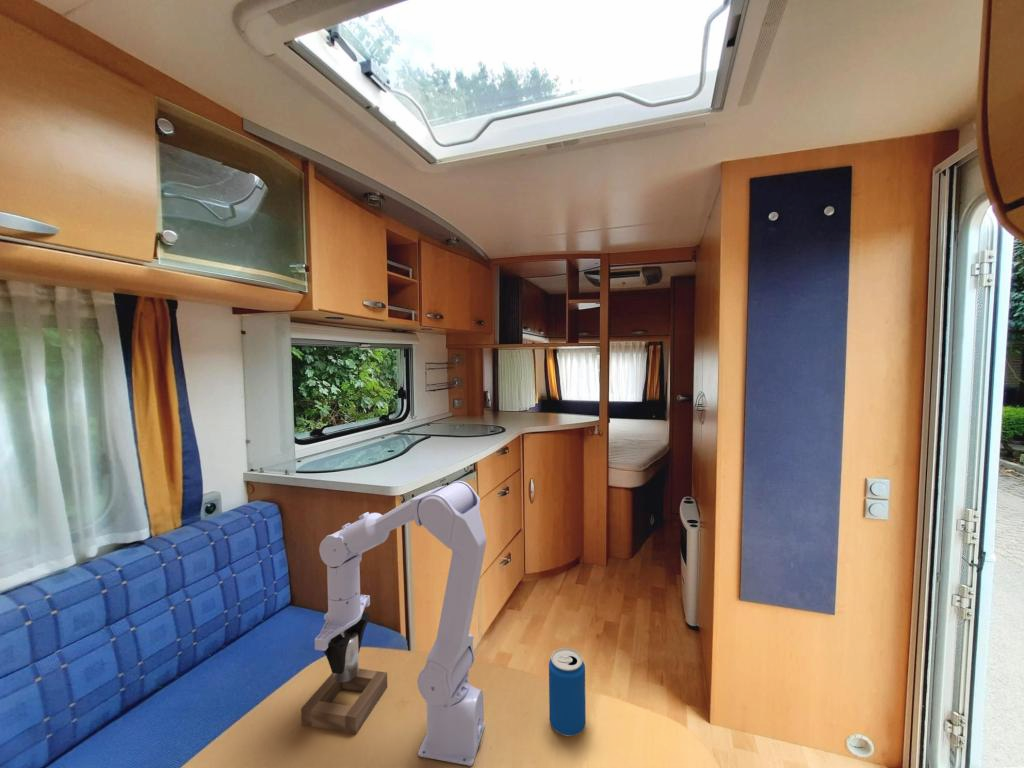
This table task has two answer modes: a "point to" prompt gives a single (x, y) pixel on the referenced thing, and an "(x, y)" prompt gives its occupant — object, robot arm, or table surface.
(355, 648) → the metal peg
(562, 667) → the beverage can
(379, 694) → the walnut socket block
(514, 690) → the table surface
